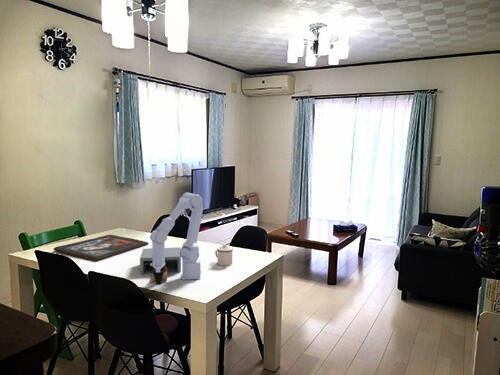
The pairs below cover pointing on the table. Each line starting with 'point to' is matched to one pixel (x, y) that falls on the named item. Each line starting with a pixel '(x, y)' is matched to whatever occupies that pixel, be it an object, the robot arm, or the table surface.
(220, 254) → the teacup with lid
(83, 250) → the religious icon
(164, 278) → the teak tray
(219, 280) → the table surface
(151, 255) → the grey low stand
